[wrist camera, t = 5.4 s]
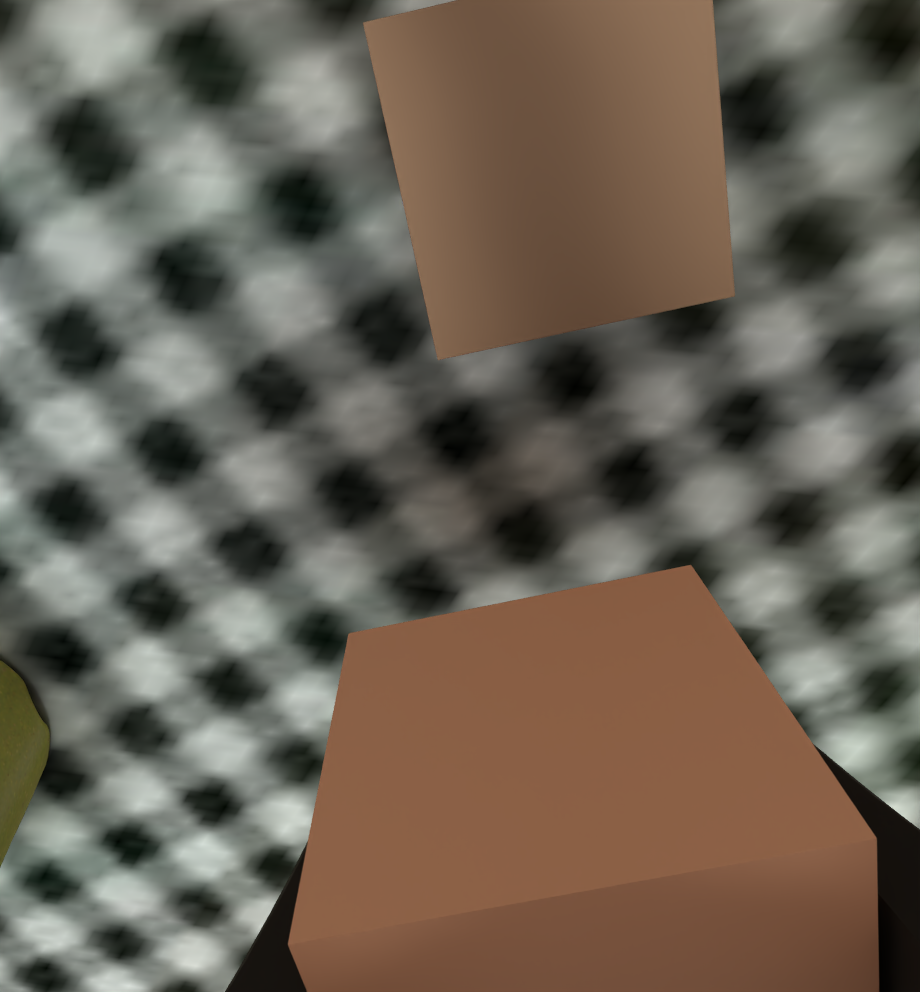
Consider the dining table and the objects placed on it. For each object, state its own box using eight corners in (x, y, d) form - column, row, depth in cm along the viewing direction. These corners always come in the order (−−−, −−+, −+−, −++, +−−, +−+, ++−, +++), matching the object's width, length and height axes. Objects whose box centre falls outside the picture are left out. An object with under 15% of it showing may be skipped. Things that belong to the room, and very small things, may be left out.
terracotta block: (691, 564, 11) (876, 837, 6) (720, 830, 13) (881, 1192, 8) (348, 633, 11) (287, 945, 7) (425, 883, 13) (420, 1265, 8)
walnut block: (626, 14, 16) (708, -60, 11) (655, 267, 17) (734, 295, 13) (383, 71, 16) (362, 22, 11) (437, 314, 18) (437, 360, 13)
